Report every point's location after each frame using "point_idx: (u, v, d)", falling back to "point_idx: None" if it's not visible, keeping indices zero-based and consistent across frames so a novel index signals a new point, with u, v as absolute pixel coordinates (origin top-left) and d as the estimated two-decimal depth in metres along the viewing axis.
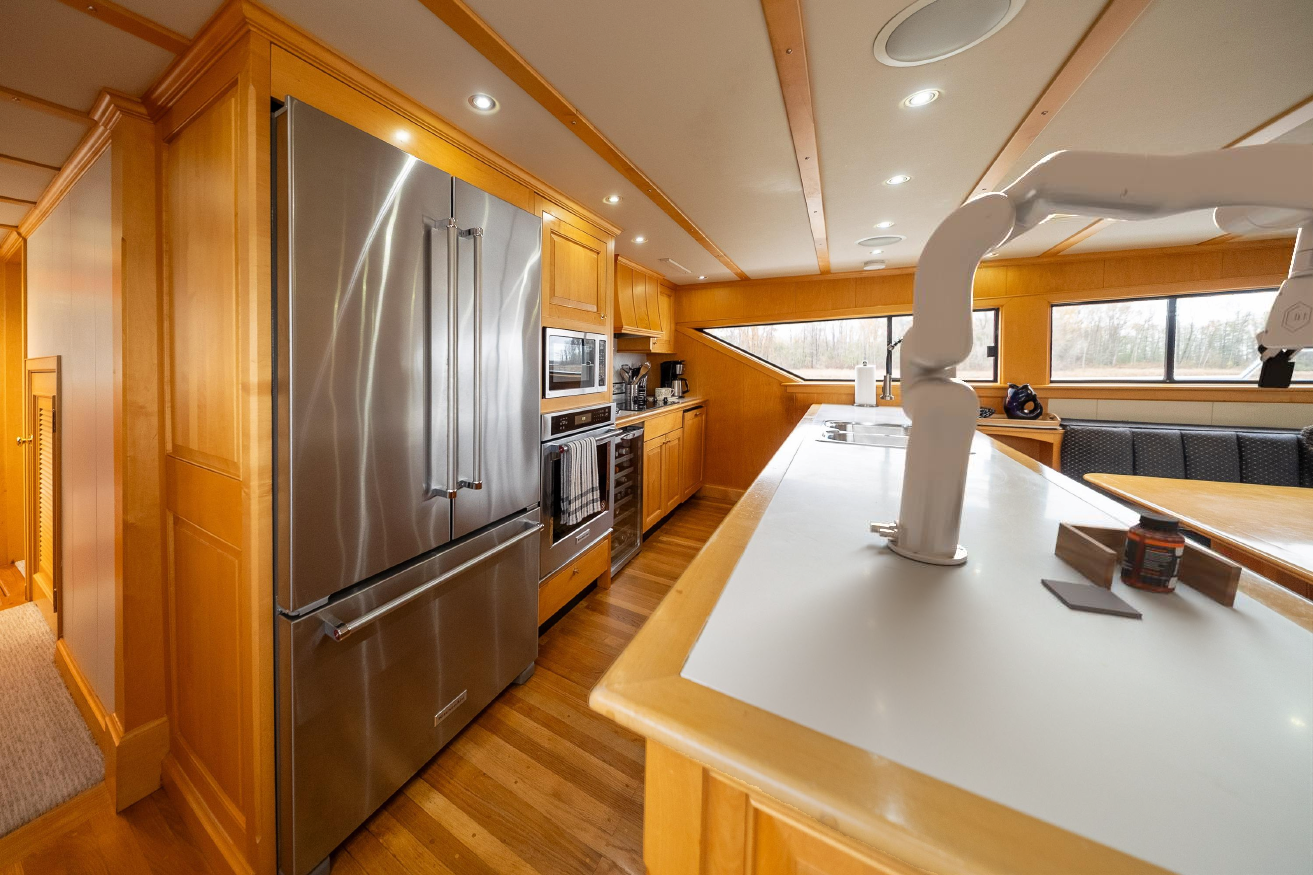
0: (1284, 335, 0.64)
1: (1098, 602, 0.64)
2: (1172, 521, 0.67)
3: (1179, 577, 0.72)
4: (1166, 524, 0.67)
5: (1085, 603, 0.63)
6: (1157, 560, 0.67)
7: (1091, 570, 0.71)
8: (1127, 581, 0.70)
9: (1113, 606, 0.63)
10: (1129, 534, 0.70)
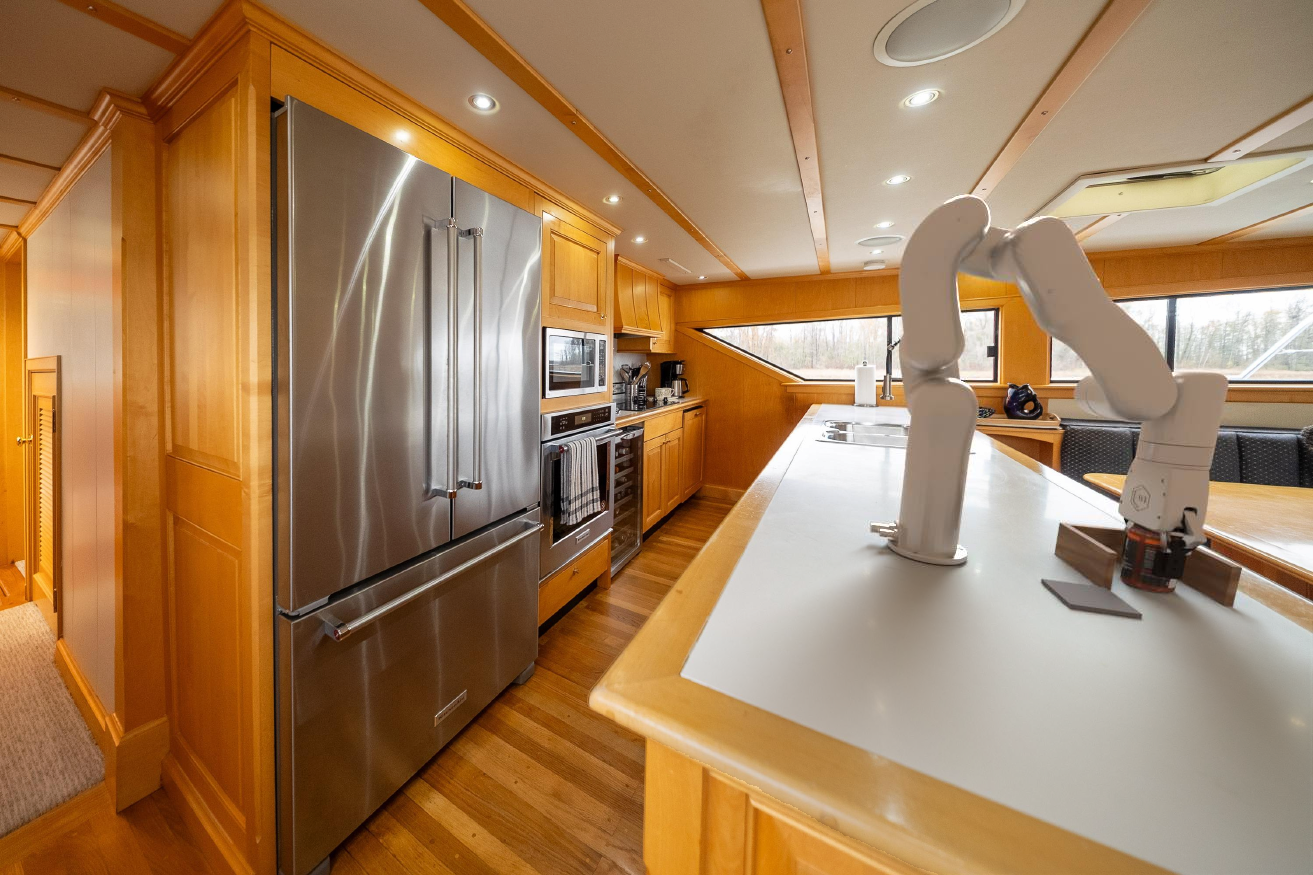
0: (1132, 511, 0.70)
1: (1098, 602, 0.64)
2: None
3: None
4: None
5: (1085, 603, 0.63)
6: None
7: (1091, 570, 0.71)
8: (1127, 581, 0.70)
9: (1113, 606, 0.63)
10: (1129, 534, 0.70)
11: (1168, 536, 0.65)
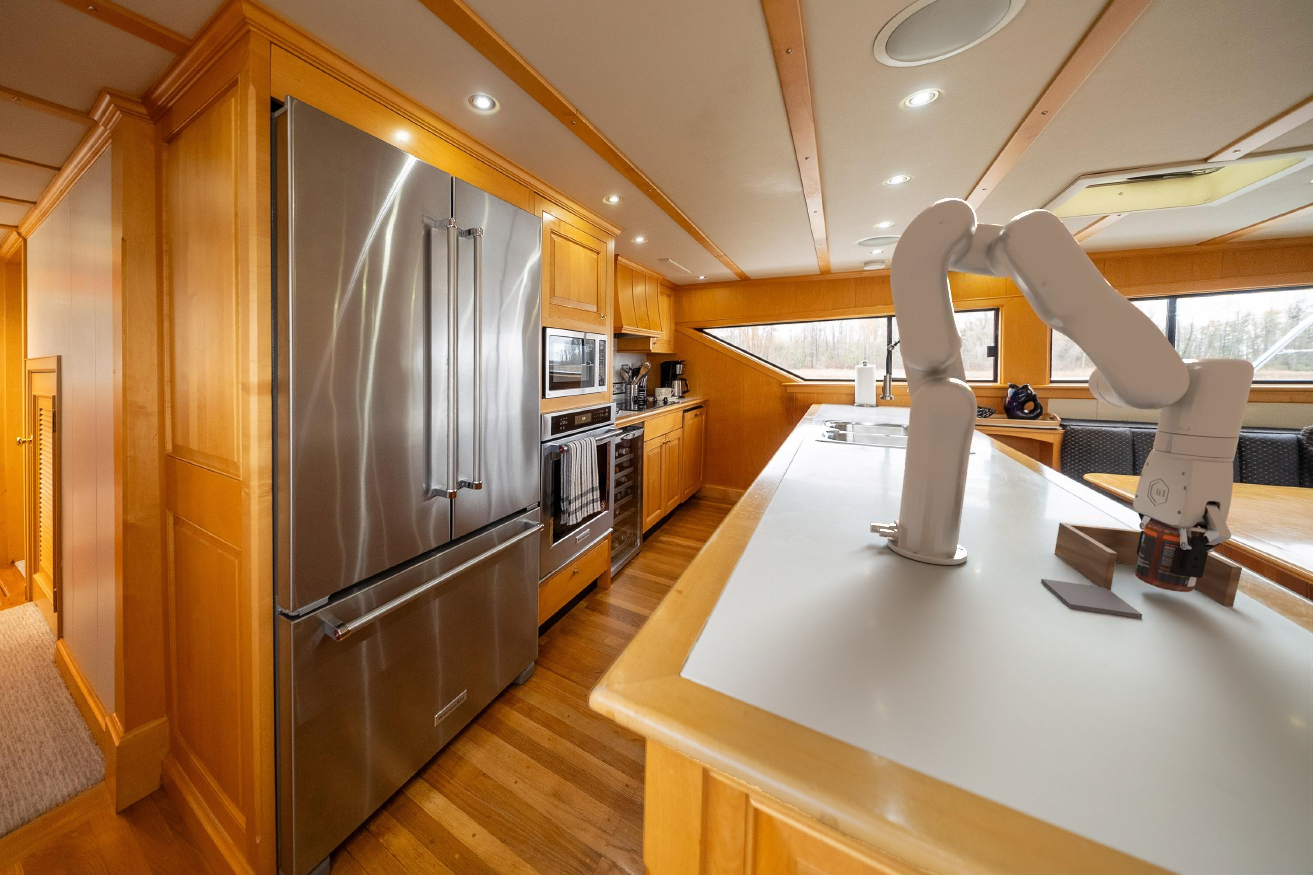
0: (1148, 506, 0.67)
1: (1098, 602, 0.64)
2: None
3: None
4: None
5: (1085, 603, 0.63)
6: None
7: (1091, 570, 0.71)
8: (1143, 579, 0.67)
9: (1113, 606, 0.63)
10: (1146, 530, 0.67)
11: (1188, 532, 0.62)
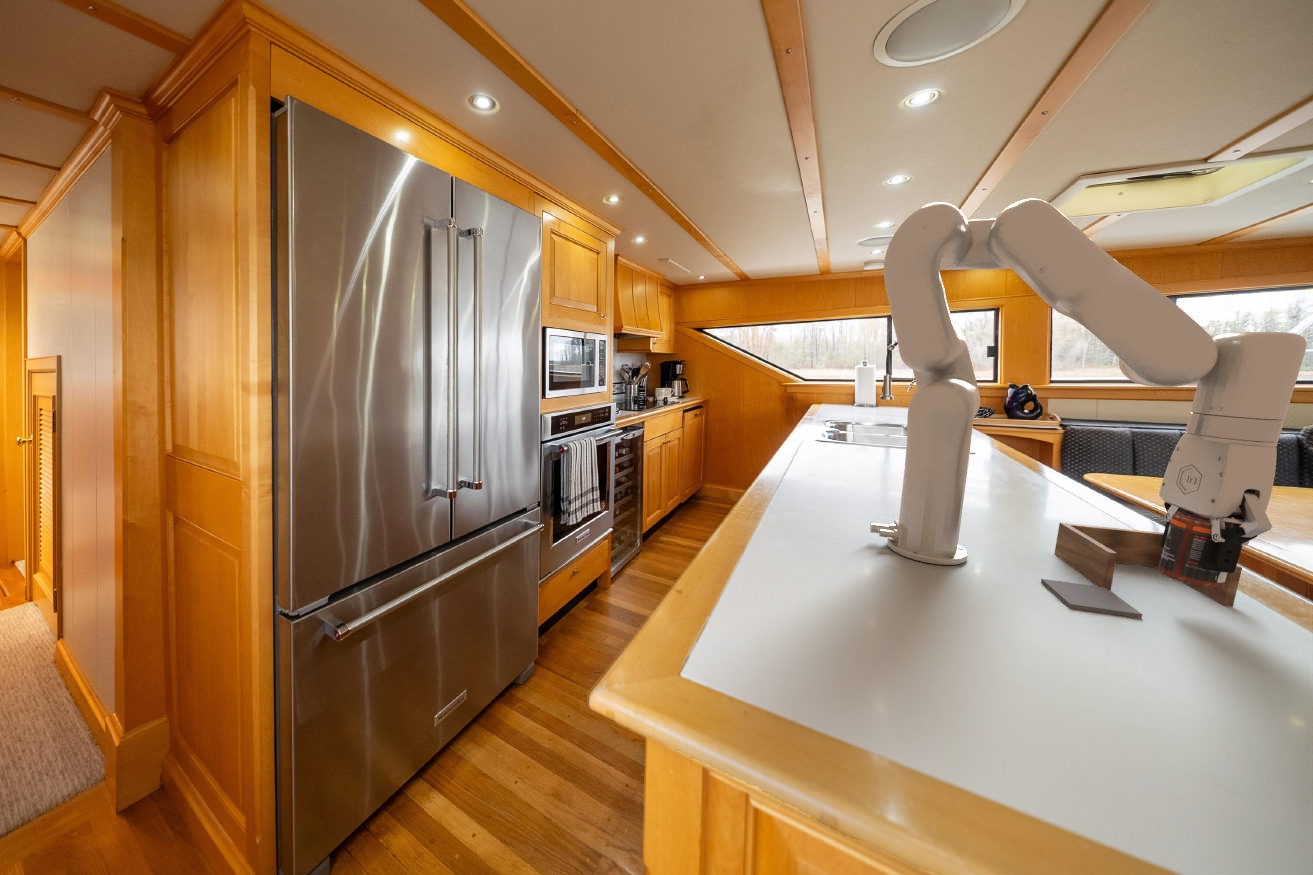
0: (1177, 494, 0.61)
1: (1098, 602, 0.64)
2: None
3: None
4: None
5: (1085, 603, 0.63)
6: None
7: (1091, 570, 0.71)
8: (1168, 574, 0.62)
9: (1113, 606, 0.63)
10: (1173, 521, 0.62)
11: (1222, 523, 0.57)
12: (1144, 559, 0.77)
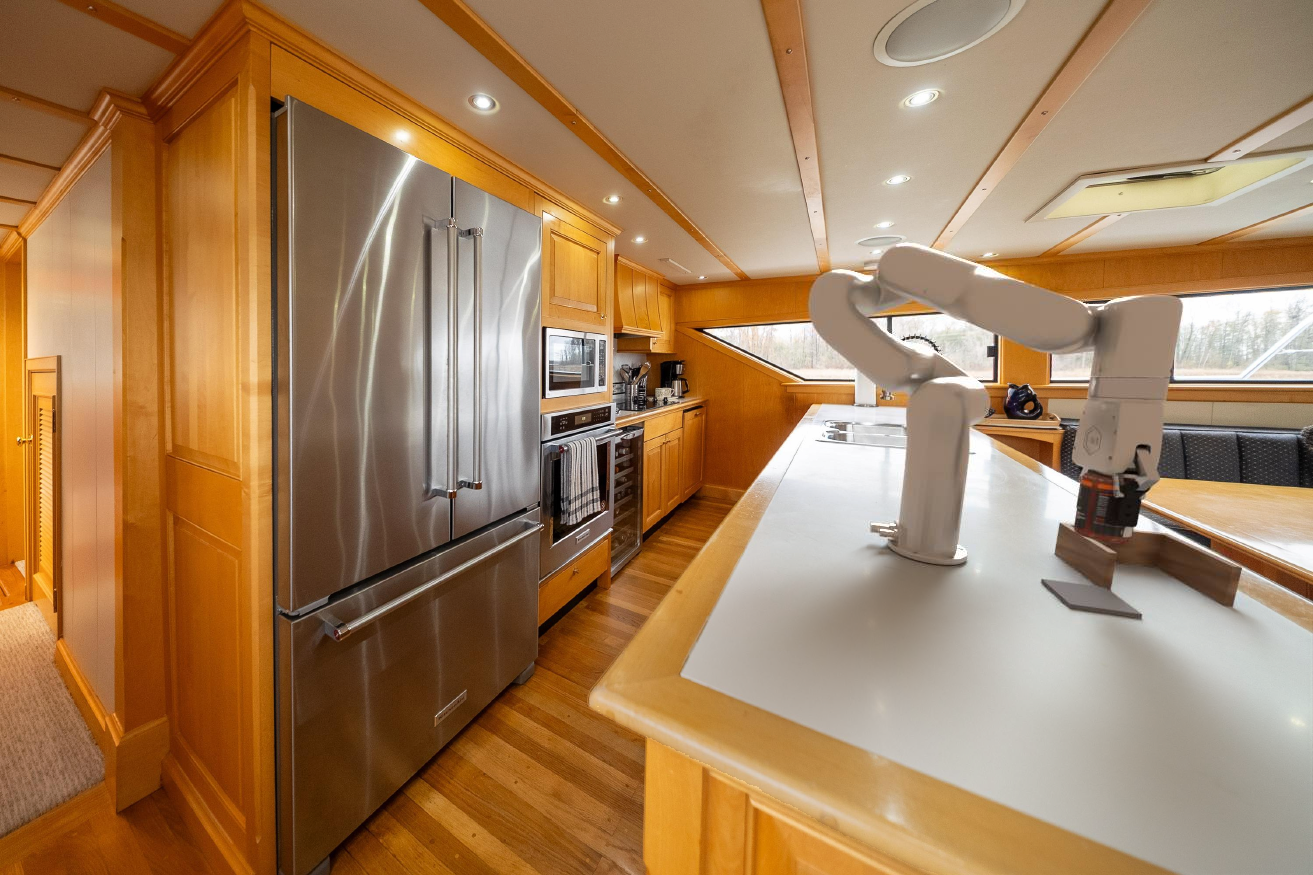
0: (1084, 456, 0.64)
1: (1098, 602, 0.64)
2: None
3: (1179, 577, 0.72)
4: None
5: (1085, 603, 0.63)
6: None
7: (1091, 570, 0.71)
8: (1080, 532, 0.64)
9: (1113, 606, 0.63)
10: (1082, 481, 0.64)
11: (1121, 479, 0.59)
12: (1144, 559, 0.77)
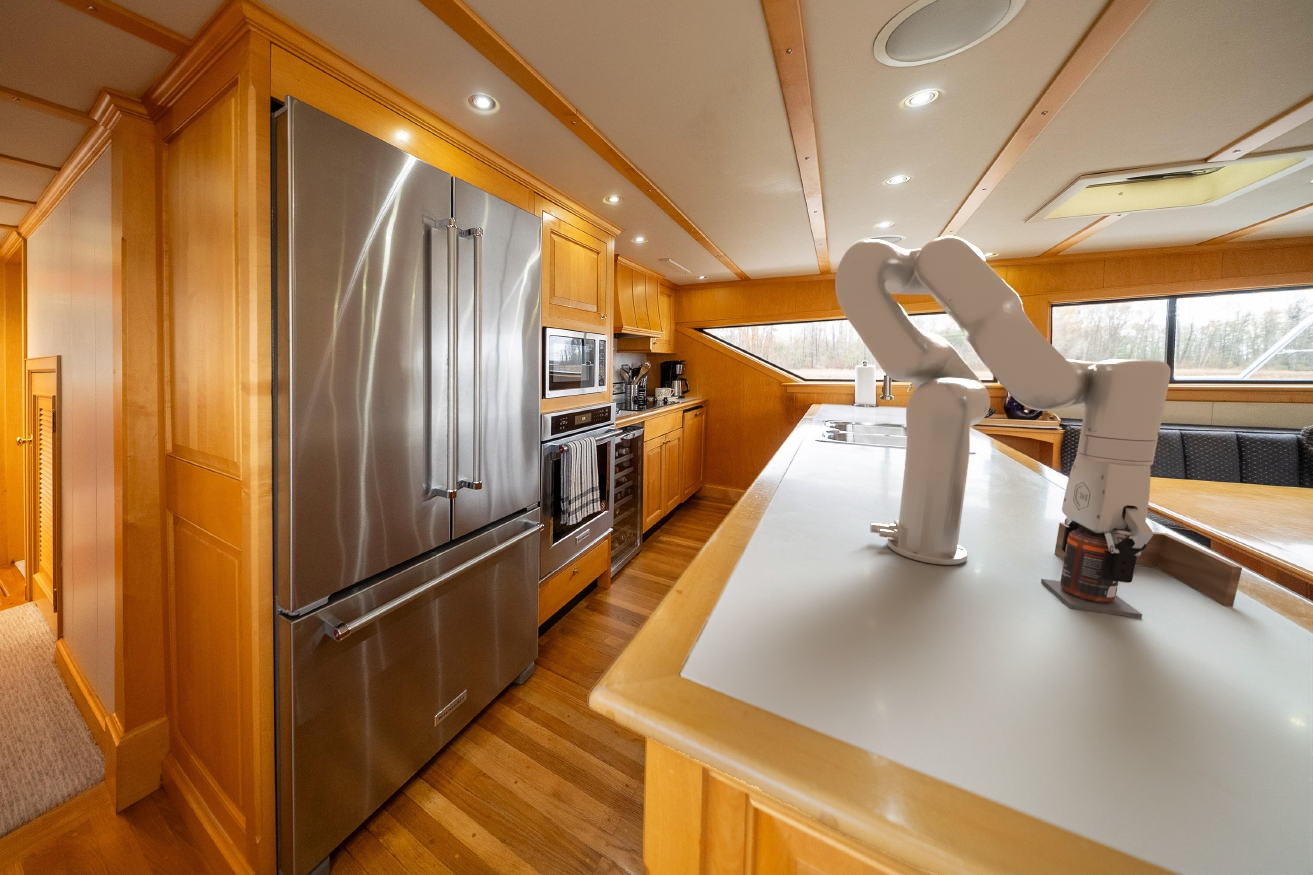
0: (1074, 510, 0.66)
1: (1098, 602, 0.64)
2: None
3: (1179, 577, 0.72)
4: None
5: (1085, 603, 0.63)
6: (1095, 567, 0.63)
7: None
8: (1066, 589, 0.66)
9: (1113, 606, 0.63)
10: (1068, 539, 0.66)
11: (1113, 534, 0.60)
12: (1144, 559, 0.77)
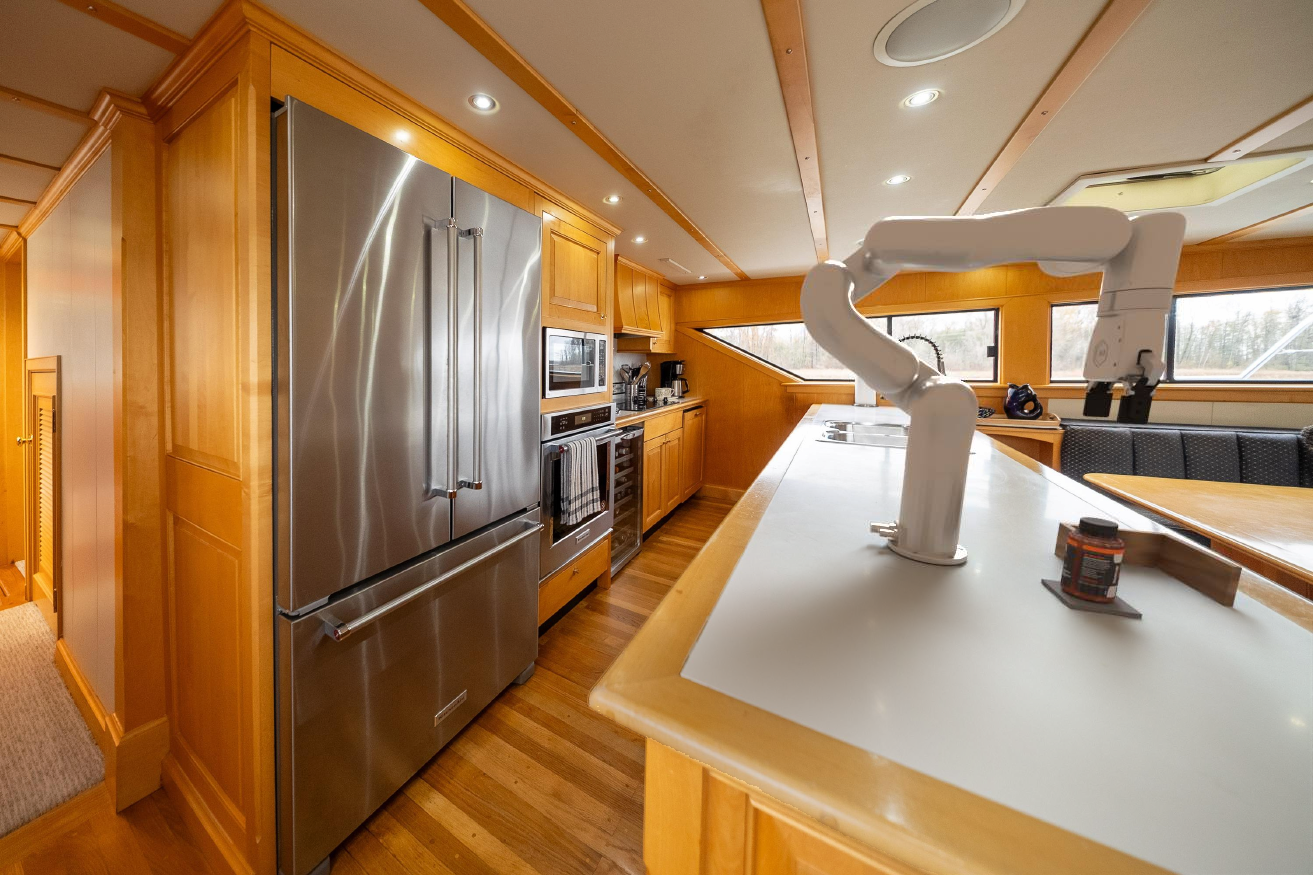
0: (1093, 369, 0.70)
1: (1098, 602, 0.64)
2: (1111, 526, 0.62)
3: (1179, 577, 0.72)
4: (1104, 529, 0.63)
5: (1085, 603, 0.63)
6: (1095, 567, 0.63)
7: None
8: (1066, 589, 0.66)
9: (1113, 606, 0.63)
10: (1068, 539, 0.66)
11: (1129, 379, 0.64)
12: (1144, 559, 0.77)
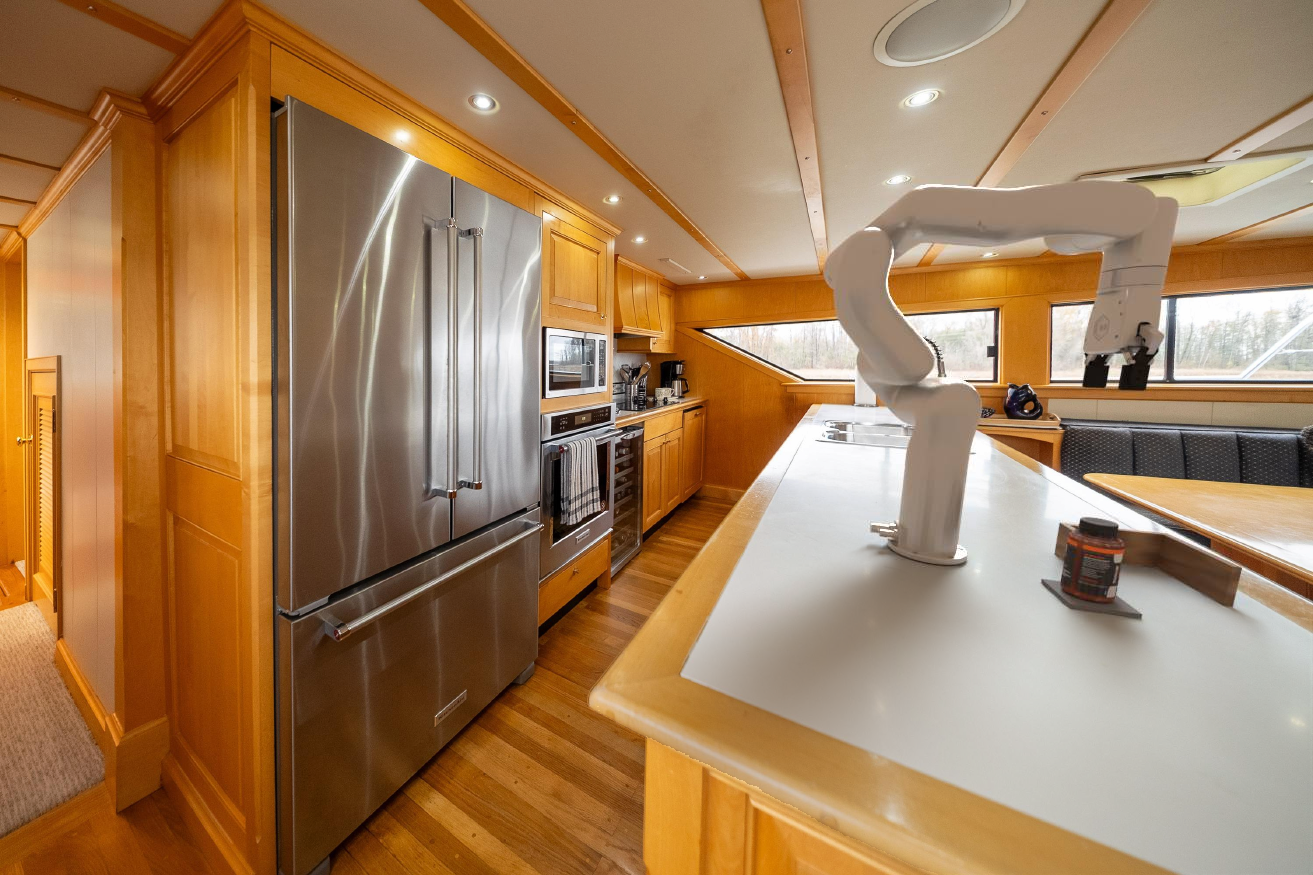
0: (1094, 343, 0.76)
1: (1098, 602, 0.64)
2: (1111, 526, 0.62)
3: (1179, 577, 0.72)
4: (1104, 529, 0.63)
5: (1085, 603, 0.63)
6: (1095, 567, 0.63)
7: None
8: (1066, 589, 0.66)
9: (1113, 606, 0.63)
10: (1068, 539, 0.66)
11: (1130, 349, 0.70)
12: (1144, 559, 0.77)
